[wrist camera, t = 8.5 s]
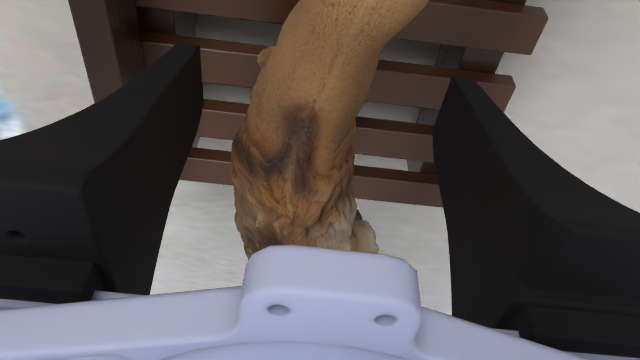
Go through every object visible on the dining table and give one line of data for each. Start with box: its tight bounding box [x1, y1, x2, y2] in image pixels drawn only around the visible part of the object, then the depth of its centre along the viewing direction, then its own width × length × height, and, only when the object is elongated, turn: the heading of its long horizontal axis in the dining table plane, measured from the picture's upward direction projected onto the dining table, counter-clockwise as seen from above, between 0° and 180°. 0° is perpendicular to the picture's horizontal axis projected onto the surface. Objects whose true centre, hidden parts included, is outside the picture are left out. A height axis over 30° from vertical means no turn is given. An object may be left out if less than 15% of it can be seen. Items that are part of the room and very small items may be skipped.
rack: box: [68, 0, 548, 207], centre depth 19 cm, size 16×20×6 cm
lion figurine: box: [229, 0, 429, 261], centre depth 14 cm, size 15×5×9 cm, turn 171°
